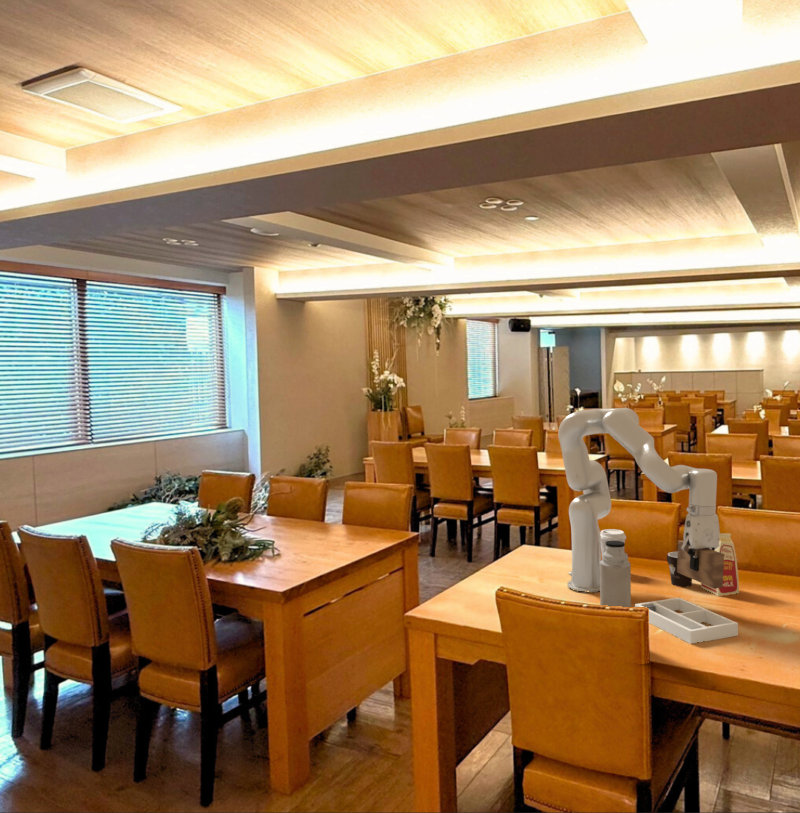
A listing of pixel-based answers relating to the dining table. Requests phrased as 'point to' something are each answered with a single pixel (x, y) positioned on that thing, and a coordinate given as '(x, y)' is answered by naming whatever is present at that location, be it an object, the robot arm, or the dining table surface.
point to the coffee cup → (611, 537)
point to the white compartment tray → (689, 620)
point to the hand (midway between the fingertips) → (699, 568)
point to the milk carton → (726, 568)
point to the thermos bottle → (615, 576)
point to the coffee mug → (675, 576)
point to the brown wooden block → (702, 566)
